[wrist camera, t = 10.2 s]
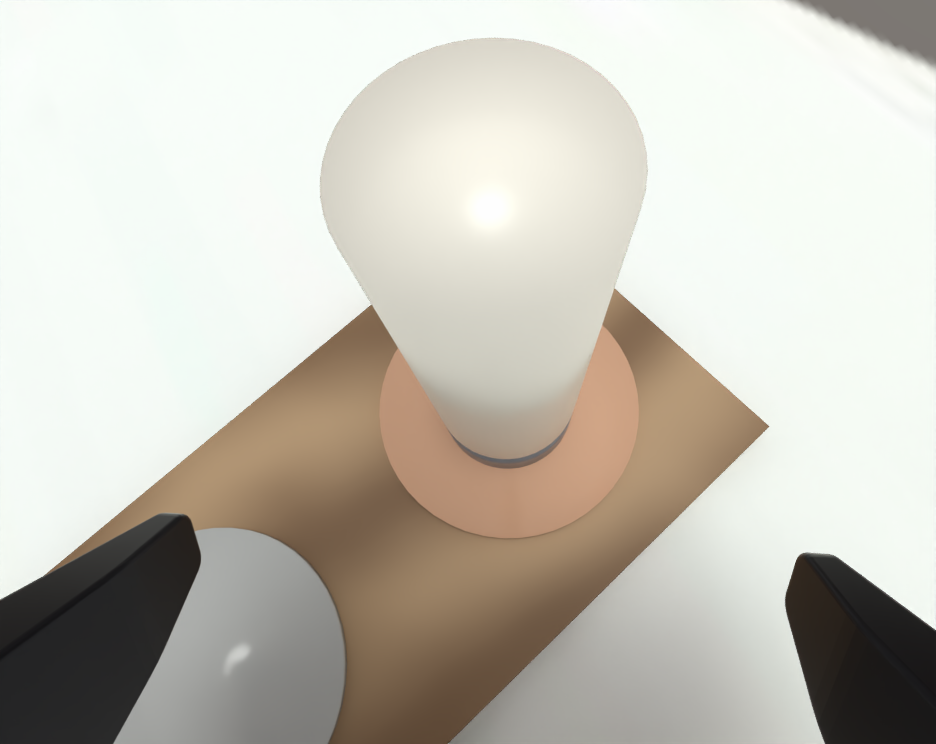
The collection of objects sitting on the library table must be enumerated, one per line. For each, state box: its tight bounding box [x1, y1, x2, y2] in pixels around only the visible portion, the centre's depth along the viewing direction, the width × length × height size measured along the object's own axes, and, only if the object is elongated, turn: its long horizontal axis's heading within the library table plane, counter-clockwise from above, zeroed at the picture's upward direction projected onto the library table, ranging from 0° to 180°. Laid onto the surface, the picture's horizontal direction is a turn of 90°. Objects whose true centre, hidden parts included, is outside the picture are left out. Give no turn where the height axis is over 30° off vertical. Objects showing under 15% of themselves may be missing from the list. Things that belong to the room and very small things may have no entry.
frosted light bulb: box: [320, 38, 648, 469], centre depth 14 cm, size 4×4×13 cm
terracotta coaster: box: [379, 325, 639, 539], centre depth 20 cm, size 9×9×1 cm
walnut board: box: [44, 289, 769, 744], centre depth 20 cm, size 13×25×1 cm, turn 131°
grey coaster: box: [114, 528, 347, 744], centre depth 19 cm, size 9×9×1 cm
